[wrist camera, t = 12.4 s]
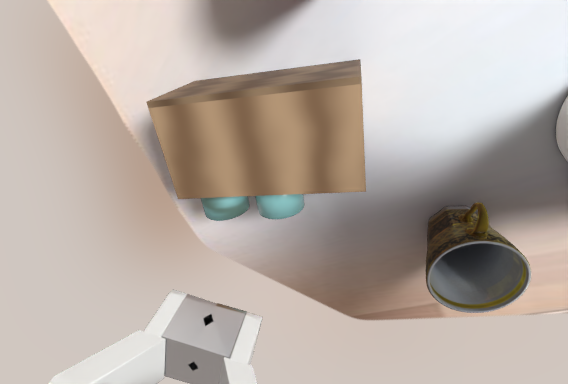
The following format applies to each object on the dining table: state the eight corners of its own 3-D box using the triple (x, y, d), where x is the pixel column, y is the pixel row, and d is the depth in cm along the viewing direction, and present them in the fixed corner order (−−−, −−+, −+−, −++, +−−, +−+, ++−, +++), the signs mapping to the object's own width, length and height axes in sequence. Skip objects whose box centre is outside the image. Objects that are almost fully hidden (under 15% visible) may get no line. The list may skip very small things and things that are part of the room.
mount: (360, 59, 37) (361, 76, 27) (365, 181, 43) (367, 228, 34) (194, 81, 41) (146, 101, 32) (222, 187, 48) (188, 231, 39)
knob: (292, 82, 36) (282, 93, 31) (307, 194, 42) (300, 218, 37) (243, 88, 37) (226, 100, 33) (264, 196, 44) (253, 219, 39)
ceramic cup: (490, 257, 45) (521, 315, 36) (411, 256, 47) (423, 311, 39) (506, 169, 39) (548, 214, 31) (416, 173, 42) (431, 216, 33)
